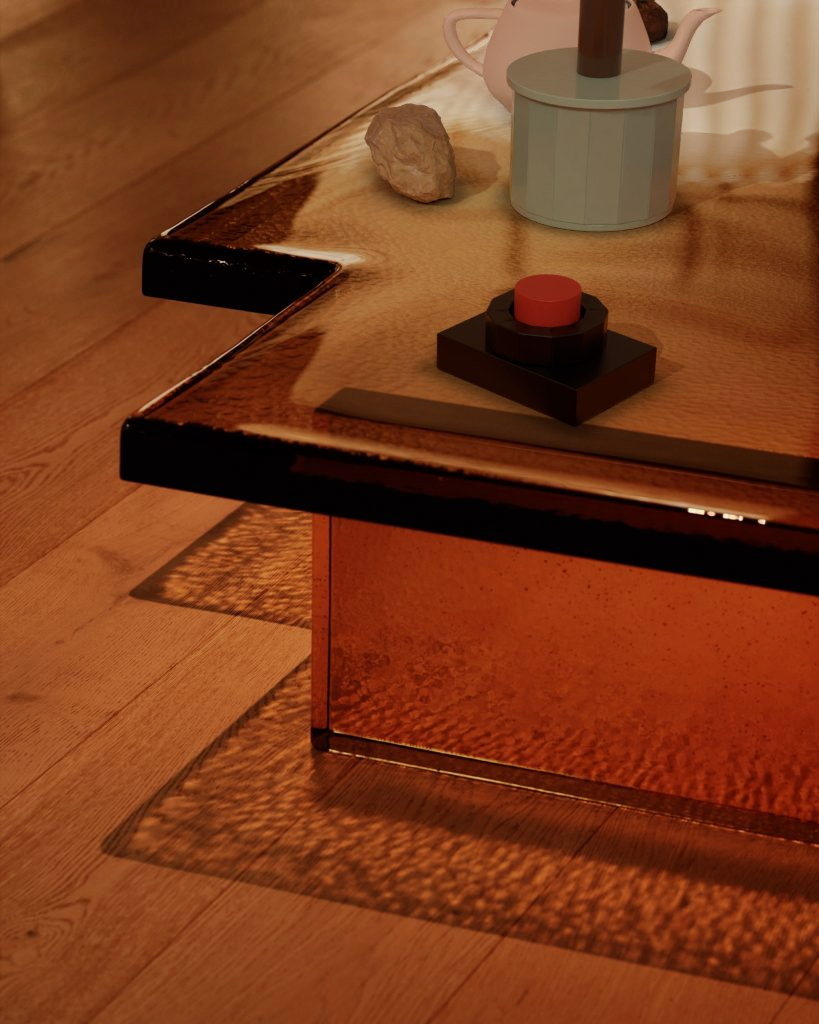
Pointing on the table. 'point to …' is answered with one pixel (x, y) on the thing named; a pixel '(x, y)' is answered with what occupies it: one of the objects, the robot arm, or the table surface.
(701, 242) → the table surface
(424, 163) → the stone tool
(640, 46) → the teapot
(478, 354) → the button block
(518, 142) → the jar
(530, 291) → the button
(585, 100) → the lid
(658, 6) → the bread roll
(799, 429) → the table surface
